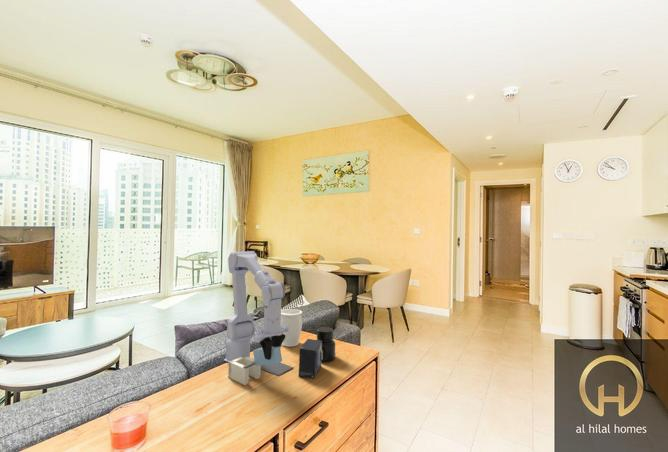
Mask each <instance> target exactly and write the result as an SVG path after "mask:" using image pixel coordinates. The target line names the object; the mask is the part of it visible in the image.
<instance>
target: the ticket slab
mask: <svg viewBox="0 0 668 452" xmlns="http://www.w3.org/2000/svg"><path fill="white" fill-rule="evenodd" d="M252 352H253V358H254V360H255V365H269V364H278V363H282V362H283V358H282V357H283V356H282V352H281V348H280V346H278V347H272V350H271V358H270V360H267V359H265V357H264V352H263V349H262V347H258V348H255V349H252Z"/></svg>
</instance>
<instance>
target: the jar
mask: <svg viewBox="0 0 668 452" xmlns="http://www.w3.org/2000/svg"><path fill="white" fill-rule="evenodd" d="M302 314H303V311H302V310H300V309H296V308H287V309H286V308H285V309H281V326H283V325H287V326H289V331H288V332H283V334H284V335H285V339H284V341H283V343H282V345H281V346H283V347H288V348H291V347H297V346H298V345H299V344H300V340H299V339H300V337H301V334H302V327H303V318H302Z"/></svg>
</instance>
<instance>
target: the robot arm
mask: <svg viewBox="0 0 668 452" xmlns="http://www.w3.org/2000/svg"><path fill="white" fill-rule="evenodd" d="M227 263H228V264H227V265H228V266H227V267H228V272H229V273H230V274H232V275H231V276H232V277H231V278H232V295H233V309H234V310H233V311H234V315H232V316H231V317H230V318H229V319H228V320H227V328H226V335H227V338H228V339H227V341H226V344H225V358H224V359H223V361H224V362H226V363H229V362H230V361H232V360H234V359H237V358H239V357H242V356H247V357H249V358H252V359H254V357H251V339H253V342H255V343H257V344H258V343H259V344H260V346H261V348H262V349H263V352H264V357H265V359H267V360H270V358H271V350H272V347H278V346H280V349H281V347H282V346H283V345H282V343H283V341H284V339H285V335H284V334H283V332H288V331H289V326H287V325H283V326H281V310H282V299H284V298H285V295H286V288H285V285H284V284H283V282H281V281H277V280H275V279H274V277H273V276H272V275H271V273H270V272H269V271H268V270H265V269H263V268H262V267H261V265H260V263H259V261H258V254H257V253H256V252H255V250H251V251H232V252H230V253H229V256H228V258H227ZM248 272H250V273H251V274H252V275H253V276H254V282H255V284H256V285H257V286H258V287H259V289H260V290H261V297H262V304H263V305H262V306H264V309H263V311H264V313H263V314H264V315H263V316H264V318H263V330H262V331H260V332H258V333H257V334H255V333H256V324H255V321H254V317H253V316H252V315H250V314H249V313H248V303H247V289H246V288H247V287H246V275H247V273H248Z"/></svg>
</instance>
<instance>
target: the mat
mask: <svg viewBox="0 0 668 452" xmlns="http://www.w3.org/2000/svg"><path fill="white" fill-rule="evenodd" d="M292 369H294V367H293V366H290V365H288V364H285V363H282V362H280V363H278V364H269V365H261V370H262V371H265V372H267V373H270V374H272V375H274V376H277V377H280V376H282V375H283V374H285V373H287V372H289V371H291V370H292Z"/></svg>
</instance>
